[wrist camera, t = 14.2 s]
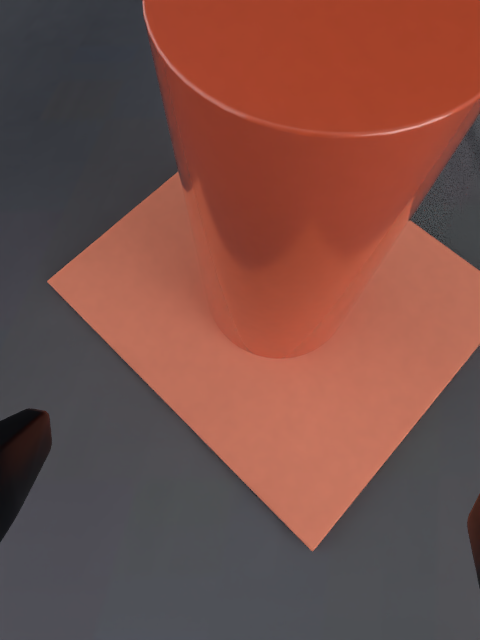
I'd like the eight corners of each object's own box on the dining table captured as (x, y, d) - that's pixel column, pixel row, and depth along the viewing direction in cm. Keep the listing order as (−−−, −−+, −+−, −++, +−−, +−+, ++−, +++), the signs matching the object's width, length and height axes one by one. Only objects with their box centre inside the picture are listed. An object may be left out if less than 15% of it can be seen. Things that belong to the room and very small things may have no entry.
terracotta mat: (512, 301, 20) (517, 297, 19) (311, 550, 16) (312, 551, 16) (254, 112, 23) (254, 106, 23) (50, 284, 20) (46, 281, 20)
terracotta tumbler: (372, 331, 19) (612, 67, 7) (233, 379, 18) (209, 188, 6) (316, 212, 21) (417, -161, 9) (189, 251, 20) (101, -89, 8)
